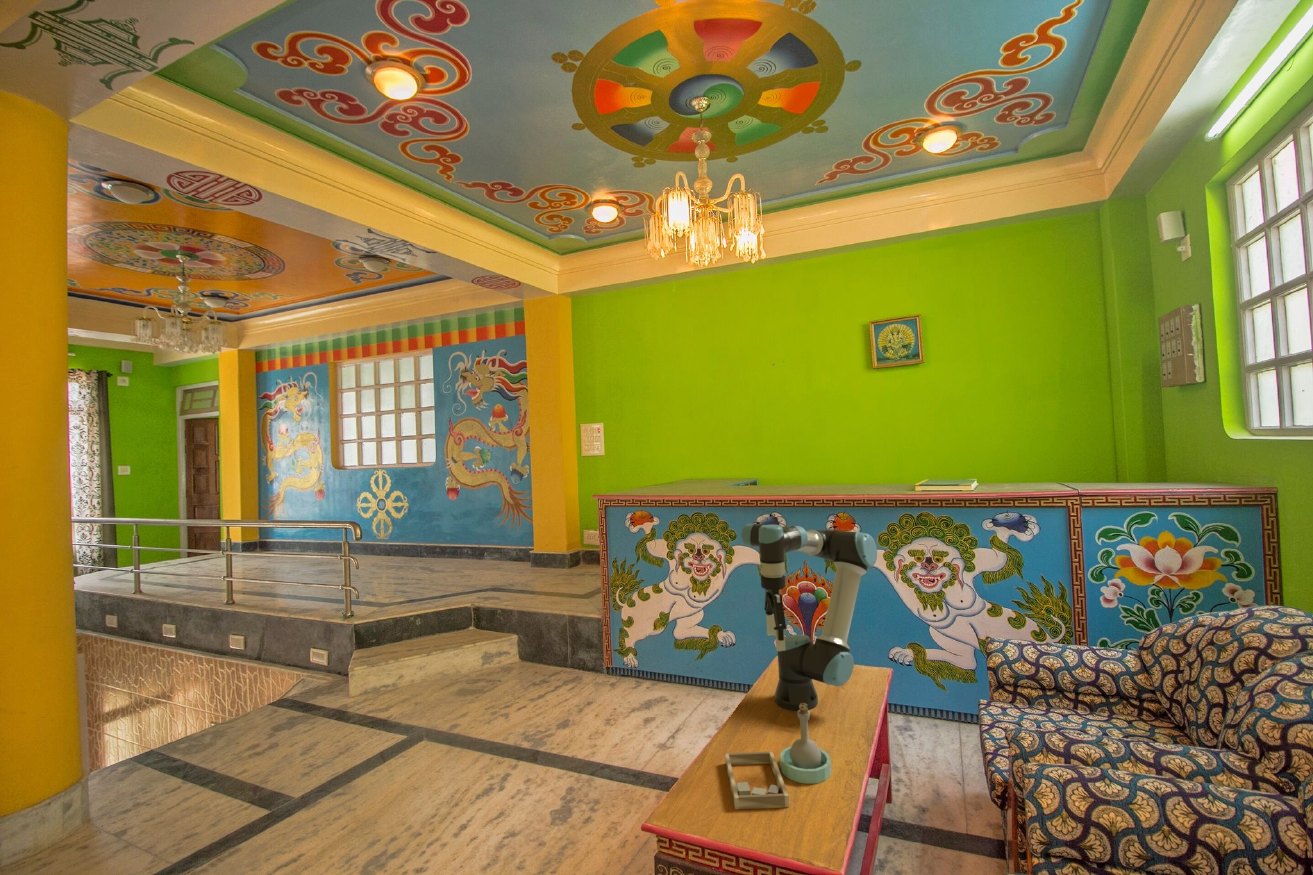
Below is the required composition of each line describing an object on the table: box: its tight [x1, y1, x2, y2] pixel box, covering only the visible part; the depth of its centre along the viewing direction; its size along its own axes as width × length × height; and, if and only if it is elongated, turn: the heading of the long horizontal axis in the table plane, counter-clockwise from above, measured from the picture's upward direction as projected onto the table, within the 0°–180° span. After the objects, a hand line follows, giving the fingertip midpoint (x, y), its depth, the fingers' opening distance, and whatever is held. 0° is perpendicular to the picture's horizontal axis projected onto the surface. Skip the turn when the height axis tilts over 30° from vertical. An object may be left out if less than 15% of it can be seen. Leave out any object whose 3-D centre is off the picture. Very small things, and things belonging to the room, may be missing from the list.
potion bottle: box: [790, 703, 821, 769], centre depth 174 cm, size 9×9×18 cm
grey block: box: [736, 781, 752, 795], centre depth 163 cm, size 4×3×2 cm
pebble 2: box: [767, 784, 781, 794], centre depth 161 cm, size 4×2×2 cm
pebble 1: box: [751, 786, 768, 795], centre depth 160 cm, size 4×3×2 cm
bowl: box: [779, 745, 832, 785], centre depth 173 cm, size 14×14×4 cm
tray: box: [724, 750, 790, 810], centre depth 167 cm, size 22×14×3 cm, turn 0°
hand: (775, 642), depth 189 cm, fingers open, 13 cm apart
